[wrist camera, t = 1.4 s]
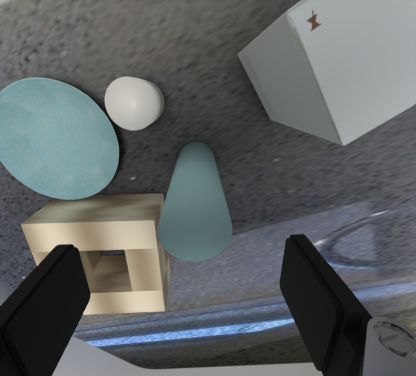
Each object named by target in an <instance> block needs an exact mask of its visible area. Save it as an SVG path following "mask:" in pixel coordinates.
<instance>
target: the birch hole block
mask: <svg viewBox="0 0 416 376" xmlns="http://www.w3.org/2000/svg"><path fill="white" fill-rule="evenodd" d="M163 206H164V196H163V193H156V194H114V195H92V196H89V197H86V198H81V199H75V200H66V199H58V198H55V199H54V200H52V201H51V202H50V203H48V204H47V205H46V206H44V207H43V208H42V209H40V210H39V211H38V212H36V213H35V214H34V215H32V216H31V217H29V218H28V219H27V220H25V221H24V222H23V223H21V226H22V229H23V231H24V234H25V236H26V239H27V241H28V244H29V246H30V249H31V251H32V254H33V257H34V259H35V262H36V264H37V266H38V265H39V264H40V262H41V261H42V260H43V259H44V258H45V257H46V256H47V255H48V254H49V253H50V252H51V250H52V249H53V248H54V247H55V246H56V245H60V244H73V245H74V247H77V248H78V250H79V253H80V257H81V260H82V264H83V267H84V271H85V274H86V278H87V282H88V285H89V289H90V293H91V297H90V301H89V303H88V305H87V307H86V309H85V311H84V313H83V315H86V314H109V313H132V312H155V311H165V307H166V300H167V293H168V287H169V280H170V273H171V270H170V260H169V253H168V252H167V251H166V250H165V249H164V248H163V246H162V245H161V243H160V241H159V238H158V232H157V229H158V223H159V220H160V216H161V213H162V210H163ZM123 249H124V250H125V255H111V256H101V252H100V250H123Z"/></svg>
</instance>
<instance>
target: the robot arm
mask: <svg viewBox="0 0 416 376" xmlns="http://www.w3.org/2000/svg"><path fill="white" fill-rule="evenodd" d="M280 289H281V292H282V294H283V296H284V299H285V301H286V303H287V305H288V307H289V310H290V312H291V314H292V316H293V319H294V321H295V323H296V325H297V327H298V330H299V332H300V334H301V336H302V339H303V341H304V343H305V345H306V347H307V350H308V352H309V354H310V356H311V359H312V361H313V363H314V365H315V367H316V369H317V370H318V371H322V374H323V376H416V335H415V334H414V333H413V332H412V331H411V330H409V329H408V328H407V327H405V326H404V325H402V324H400V323H398V322H396V321H394V320H391V319H388V318H384V317H375V318H372V316H371V315H370V314H369V313H368V311H367V310H366V309H365V308H364V306H363V305H362V304H361V303H360V301H359V300H358V299H357V298H356V297H355V295H354V294H353V293H352V292H351V290H350V289H349V288H348V287H347V285H346V284H345V283H344V282H343V280H342V279H341V278H340V277H339V275H338V274H337V273H336V272H335V271H334V269H333V268H332V267H331V266H330V265H329V264H328V263H327V262H326V261H325V259H324V258H323V257H322V256H321V254H320V253H319V252H318V251H317V249H316V248H315V247H314V246H313V244H312V243H311V242H310V241H309V239H308V238H307V237H306V236H305V235H304V234H298V235H291V236H290V238H287V239H286V244H285V251H284V257H283V264H282V270H281V277H280ZM90 297H91V293H90V289H89V285H88V282H87V278H86V274H85V271H84V267H83V264H82V260H81V257H80V253H79V250H78V248H77V247H74V245H73V244H60V245H56V246H55V247H54V248H53V249H52V250H51V252H50V253H49V254H48V255H47V256H46V257H45V258H44V259H43V260H42V261H41V262H40V264H39V265H38V266H37V267H36V268H35V269H34V270H33V271H32V272H31V273H30V274H29V276H28V277H27V278H26V279H25V280H24V281H23V282H22V283H21V284H20V285H19V286H18V288H17V289H16V290H15V291H14V292H13V293H12V294H11V295H10V296H9V297H8V298H7V300H6V301H5V302H4V303H3V304H2V305H1V306H0V376H52V374H53V372H54V370H55V368H56V366H57V364H58V362H59V360H60V358H61V356H62V354H63V352H64V350H65V348H66V346H67V345H68V343H69V340H70V339H71V337H72V335H73V333H74V331H75V329H76V327H77V325H78V323H79V321H80V319H81V317H82V315H83V313H84V311H85V309H86V307H87V305H88V303H89V301H90Z"/></svg>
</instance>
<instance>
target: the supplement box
mask: <svg viewBox="0 0 416 376" xmlns="http://www.w3.org/2000/svg"><path fill="white" fill-rule="evenodd" d="M238 57H239V59H240V61H241V63H242V65H243V67H244V69H245V71H246V73H247V75H248V77H249V79H250V81H251V83H252V85H253V86H254V88H255V90H256V92H257V94H258V96H259V98H260V100H261V102H262V104H263V106H264V108H265V110H266V112H267V114H268V116H269V118H270V119H271V120H272V121H275V122H278V123H281V124H283V125H286V126H289V127H292V128H295V129H298V130H300V131H303V132H306V133H309V134H312V135H314V136H317V137H320V138H323V139H326V140H328V141H331V142H334V143H337V144H340V145H342V146H345V145H347V144H349V143H350V142H352V141H354V140H355V139H357V138H359V137H360V136H362V135H364V134H365V133H367V132H369V131H371V130H372V129H374V128H376V127H377V126H379V125H381V124H383V123H384V122H386V121H388V120H390V119H391V118H393V117H395V116H396V115H398V114H400V113H401V112H403V111H405V110H407V109H408V108H410V107H412V106H413V105H415V104H416V0H301V1H299V2H298V3H297V4H295V5H294V6H292V7H291V8H290V9H288V10H287V11H286V12H285V13H284V14H282V15H281V16H280V17H279V18H278V19H277V20H276V21H274V22H273V23H272V24H271V25H270V26H269V27H268V28H267V29H265V30H264V31H263V32H262V33H261V34H260V35H259V36H257V37H256V38H255V39H254V40H253V41H252V42H251V43H249V44H248V45H247V46H246V47H245V48H244V49H243V50H242V51H240V52H239V53H238Z"/></svg>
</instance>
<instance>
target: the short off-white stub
mask: <svg viewBox="0 0 416 376" xmlns="http://www.w3.org/2000/svg"><path fill="white" fill-rule="evenodd" d="M105 106H106V110H107V112H108V114H109V116H110V118H111V119H112V120H113V121H114V122H115V123H116V124H117V125H118V126H120V127H122V128H124V129H127V130H134V131H135V130H141V129H143V128H145V127H147V126H148V125H150V124H151V123H153V122H154V121H156V120H157V119H158V118H159V117H160V116H161V115H162V113H163V111H164V107H165V100H164V96H163V94H162V92H161V90H160V89H159V88H158V86H156V85H155V84H154V83H152V82H150V81H147V80H143V79H139V78H134V77H121V78H118V79H116V80H114V81H113V82H112V83H111V84H110V85H109V87H108V88H107V91H106V94H105Z"/></svg>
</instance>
